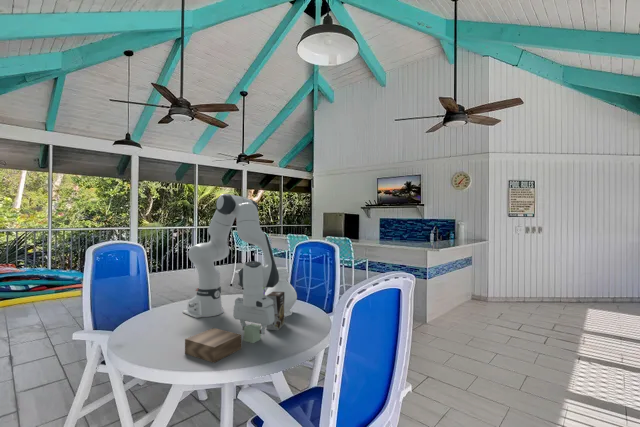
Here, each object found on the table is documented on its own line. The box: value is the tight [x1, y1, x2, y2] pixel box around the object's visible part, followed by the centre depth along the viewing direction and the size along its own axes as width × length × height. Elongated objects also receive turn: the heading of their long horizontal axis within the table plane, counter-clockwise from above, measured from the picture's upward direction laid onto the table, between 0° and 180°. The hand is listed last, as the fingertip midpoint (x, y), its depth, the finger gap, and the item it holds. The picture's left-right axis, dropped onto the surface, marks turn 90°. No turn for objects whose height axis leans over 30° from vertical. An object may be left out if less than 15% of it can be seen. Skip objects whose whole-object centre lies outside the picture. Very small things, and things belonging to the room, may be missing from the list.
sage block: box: [243, 323, 262, 344], centre depth 135 cm, size 5×5×6 cm
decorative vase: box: [265, 266, 298, 318], centre depth 172 cm, size 18×18×25 cm
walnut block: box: [184, 327, 242, 364], centre depth 124 cm, size 16×14×6 cm
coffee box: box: [265, 292, 285, 331], centre depth 151 cm, size 9×6×16 cm
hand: (253, 331), depth 135 cm, fingers open, 8 cm apart
